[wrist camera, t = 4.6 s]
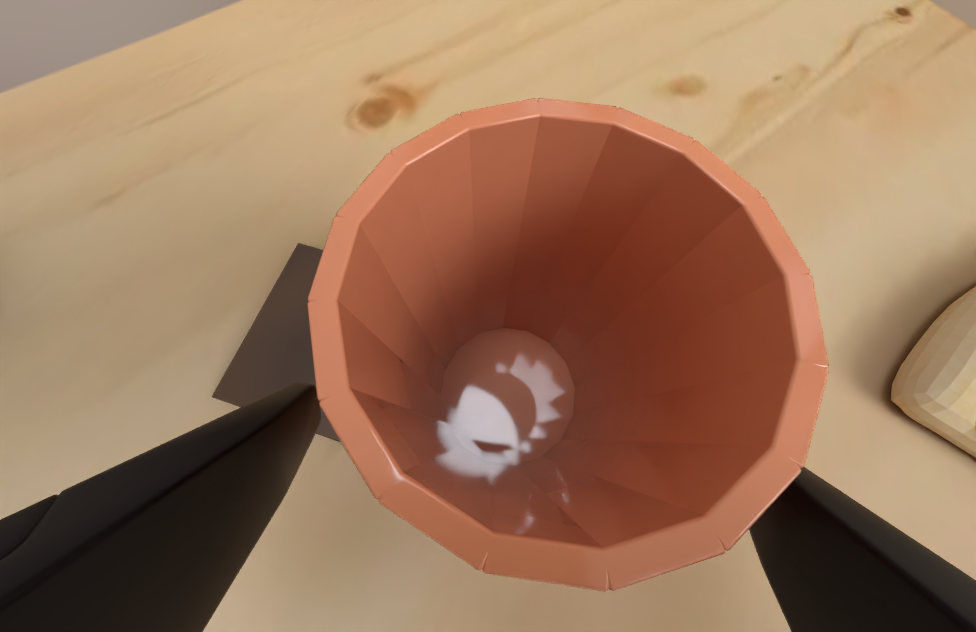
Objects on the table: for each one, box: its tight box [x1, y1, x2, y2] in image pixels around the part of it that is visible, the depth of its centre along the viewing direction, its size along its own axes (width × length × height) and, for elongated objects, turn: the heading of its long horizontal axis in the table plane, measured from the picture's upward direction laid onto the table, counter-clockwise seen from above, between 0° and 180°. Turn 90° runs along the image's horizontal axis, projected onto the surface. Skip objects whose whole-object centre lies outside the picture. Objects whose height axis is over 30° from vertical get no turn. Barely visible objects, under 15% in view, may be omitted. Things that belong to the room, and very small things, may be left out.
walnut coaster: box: [212, 243, 341, 442], centre depth 17 cm, size 8×8×1 cm
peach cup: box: [307, 98, 829, 592], centre depth 11 cm, size 7×7×12 cm
